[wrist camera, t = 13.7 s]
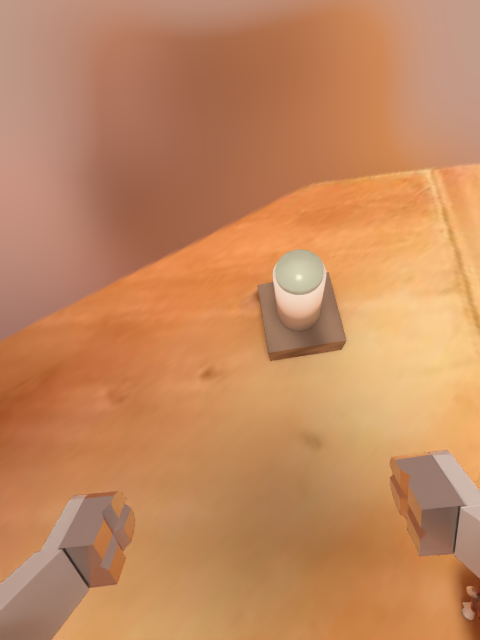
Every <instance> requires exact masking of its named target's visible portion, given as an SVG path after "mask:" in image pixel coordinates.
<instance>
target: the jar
mask: <svg viewBox="0 0 480 640" xmlns="http://www.w3.org/2000/svg"><path fill="white" fill-rule="evenodd" d="M325 281H326V268H325V266H324V264H323V262H322V261H321V259H320V258H319V257H318V256H317V255H316V254H314V253H312V252H310V251H307V250H293V251H290V252H288V253H286V254H285V255H283V256H282V257H281V258H280V259H279V261H278V262H277V264H276V265H275V267H274V270H273V282H274V289H275V297H276V304H277V311H278V317H279V320H280V321H281V323H282V324H283V325H284V326H285V327H287V328H288V329H291V330H294V331H304V330H307V329H309V328H311V327H312V326H314V325H315V324H316V322H317V321H318V319H319V315H320V310H321V304H322V298H323V293H324V287H325Z"/></svg>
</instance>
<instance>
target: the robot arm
mask: <svg viewBox="0 0 480 640" xmlns="http://www.w3.org/2000/svg"><path fill="white" fill-rule="evenodd" d="M390 467H391V470H392V472H393V475H392V476H391V477H390V486H391V490H392V495H393V498H394V501H395V504H396V506H397V508H398V511H399V513H400V514H401V515H402V516H404V517H405V518H406V519H407V530H408V533H409V535H410V537H411V539H412V541H413V543H414V545H415V547H416V550H417V552H418V554H419V556H429V555H445V554H454V556H455V557H456V558H457V559H458V560H459V561H461V562H462V563H463V564H464V565H465V566H466V567H467V568H468V569H469V570H470V571H472V572H473V573H474V574H475V575H476V576H477V577H478V578H479V579H480V491H479V489H478V488H477V487H476V485H475V484H474V483H473V481H472V480H471V479H470V477H469V476H468V475H467V473H466V472H465V471H464V469H463V468H462V467H461V466H460V464H459V463H458V462H457V460H456V459H455V458H454V456H453V455H452V454H451V453H450V452H449V451H447V450H443V451H435V452H428V453H426V452H424V453H417V454H409V455H402V456H395V457H391V459H390ZM125 500H126V497H125V495H124V493H123V492H122V491H116V492H105V493H95V494H85V495H76V496H73V497H72V498H71V499H70V500H69V501H68V503H67V505H66V506H65V508H64V510H63V512H62V513H61V515H60V517H59V519H58V521H57V522H56V524H55V526H54V528H53V529H52V531H51V533H50V535H49V537H48V538H47V540H46V542H45V544H44V545H43V547H42V549H41V551H40V552H35V553H34V554H33V555H32V556H31V557H29V558H28V559H27V560H26V561H25V562H24V563H23V564H22V565H21V566H20V567H18V568H17V569H16V570H15V571H14V572H13V573H12V574H11V575H10V576H9V577H7V578H6V579H5V580H4V581H3V582H2V583H1V584H0V640H52V639H53V637H54V636H55V635H56V633H57V632H58V631H59V629H60V628H61V627H62V625H63V624H64V623H65V621H66V620H67V619H68V617H69V616H70V615H71V613H72V612H73V611H74V609H75V608H76V607H77V605H78V604H79V603H80V601H81V600H82V599H83V597H84V596H85V595H86V594H87V592H88V591H89V588H91V587H99V586H107V585H115V584H117V583H118V580H119V577H120V574H121V571H122V568H123V565H124V562H125V559H126V558H125V554H124V549H125V548H126V547H127V546H128V545H129V544H130V543H131V540H132V537H133V533H134V526H135V519H134V513H133V511H132V509H131V508H130V507H129V506H127V505H125V504H124V503H125Z"/></svg>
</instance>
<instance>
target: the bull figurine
mask: <svg viewBox="0 0 480 640" xmlns="http://www.w3.org/2000/svg"><path fill="white" fill-rule="evenodd" d="M466 591H467V593H468V594H469V595H470V596H471V602H462V604H463V606H464V608H462V615H463V616H464V618H465V619H467V620H469V621H472V620H473V619H474V617H475V614H476V615H478V616H479V618H480V600H479V598H480V587H479V588H476V587H473V586H467V588H466Z"/></svg>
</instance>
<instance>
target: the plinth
mask: <svg viewBox="0 0 480 640" xmlns="http://www.w3.org/2000/svg"><path fill="white" fill-rule="evenodd" d="M258 291H259V298H260V304H261V310H262V316H263V322H264V328H265V335H266V341H267V347H268V353H269V357H270V361H272V360H278V359H285V358H291V357H297V356H304V355H310V354H316V353H323V352H329V351H335V350H341V349H342V347H343V345H344V344H345V342H346V337H345V334H344V330H343V326H342V322H341V318H340V314H339V311H338V307H337V303H336V299H335V295H334V291H333V288H332V284H331V280H330V276H329V272H328V273H326V281H325V287H324V293H323V298H322V304H321V310H320V315H319V319H318V321H317V322H316V324H315V325H314V326H312V327H311V328H309V329H307V330H304V331H294V330H291V329H288V328H287V327H285V326H284V325H283V324H282V323H281V321H280V320H279V317H278V311H277V304H276V297H275V289H274V282H272V283H267V284H261V285H258Z"/></svg>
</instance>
